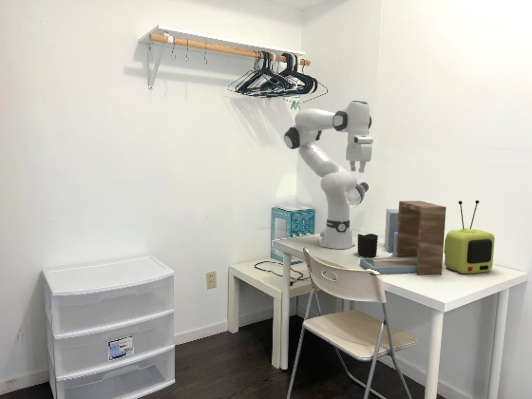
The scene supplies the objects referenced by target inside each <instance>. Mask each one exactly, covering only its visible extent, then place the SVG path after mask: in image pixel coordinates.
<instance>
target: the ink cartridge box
mask: <svg viewBox="0 0 532 399" xmlns="http://www.w3.org/2000/svg"><path fill="white" fill-rule="evenodd" d="M397 234H398V232H393V252H391V254H392V255H391V258H392V257H396V254H397Z"/></svg>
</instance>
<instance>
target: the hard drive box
mask: <svg viewBox="0 0 532 399" xmlns="http://www.w3.org/2000/svg"><path fill="white" fill-rule="evenodd" d="M385 211H386V212H385V229H384V230H385V231H384V233H385V234H384V246H385V249H386V250H387V252H388V253H393V232H398V214H399V208H386V209H385Z"/></svg>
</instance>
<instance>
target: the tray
mask: <svg viewBox="0 0 532 399" xmlns="http://www.w3.org/2000/svg"><path fill="white" fill-rule="evenodd" d="M401 258H416V259H417V257H392V256H391V257H374V258H364V257H362V258H359V266H361V267H362V268H363V269H364V270H366V269H371V270H374V271H377V272H379V273H380V274H382V275H383V274H386V275H403V274H405V273H406V274H405V275H407V273H410V274H417V265H416V266H390V267H374V266H372V260H373V259H401ZM382 275H381V276H382Z"/></svg>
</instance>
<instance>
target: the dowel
mask: <svg viewBox="0 0 532 399" xmlns="http://www.w3.org/2000/svg"><path fill="white" fill-rule="evenodd" d="M416 265H417V259H416V258H401V259H373V260H372V266H374V267H390V266H416Z"/></svg>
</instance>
